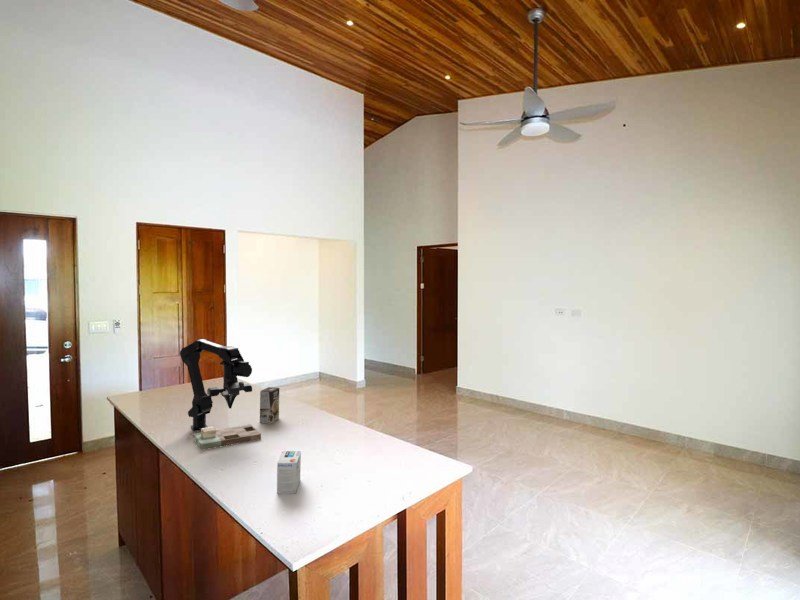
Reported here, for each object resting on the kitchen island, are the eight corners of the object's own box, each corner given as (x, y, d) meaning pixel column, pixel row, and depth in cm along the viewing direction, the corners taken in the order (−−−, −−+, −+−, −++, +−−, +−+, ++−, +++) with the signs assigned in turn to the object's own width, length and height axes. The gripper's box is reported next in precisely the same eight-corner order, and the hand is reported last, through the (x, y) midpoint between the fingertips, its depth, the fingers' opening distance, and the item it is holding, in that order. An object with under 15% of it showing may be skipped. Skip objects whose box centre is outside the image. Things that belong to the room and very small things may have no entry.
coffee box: (271, 423, 222) (271, 391, 222) (259, 422, 224) (259, 390, 223) (279, 418, 231) (280, 387, 231) (268, 417, 233) (268, 386, 232)
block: (201, 435, 197) (201, 428, 197) (213, 433, 200) (213, 426, 200) (203, 438, 193) (203, 431, 193) (216, 436, 196) (216, 429, 196)
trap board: (194, 439, 199) (194, 433, 199) (250, 429, 213) (251, 424, 213) (201, 450, 187) (201, 444, 187) (260, 439, 201) (260, 433, 201)
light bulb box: (281, 479, 162) (282, 450, 161) (300, 479, 162) (301, 450, 162) (276, 494, 151) (276, 462, 150) (296, 493, 152) (297, 462, 151)
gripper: (212, 380, 193) (212, 416, 194) (256, 376, 204) (255, 409, 205) (207, 375, 203) (206, 409, 203) (248, 371, 213) (248, 403, 214)
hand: (229, 408), depth 206 cm, fingers closed
